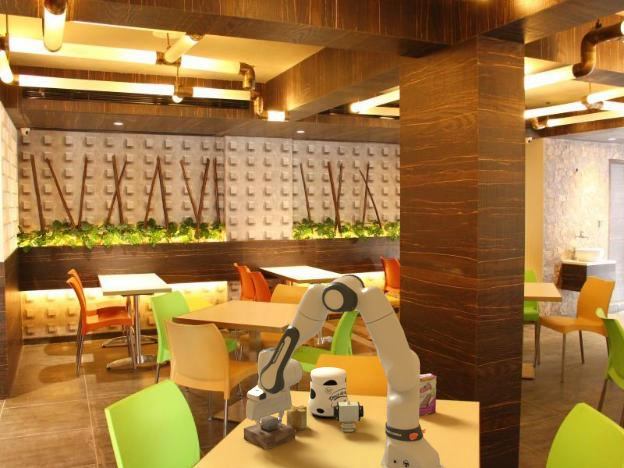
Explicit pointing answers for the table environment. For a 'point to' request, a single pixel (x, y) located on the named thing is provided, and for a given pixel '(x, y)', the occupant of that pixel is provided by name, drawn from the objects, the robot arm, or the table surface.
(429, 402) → the candy bar box
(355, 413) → the pneumatic valve
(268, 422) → the square bit
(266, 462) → the table surface
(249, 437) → the block
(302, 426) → the cross bit
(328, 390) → the milk container
